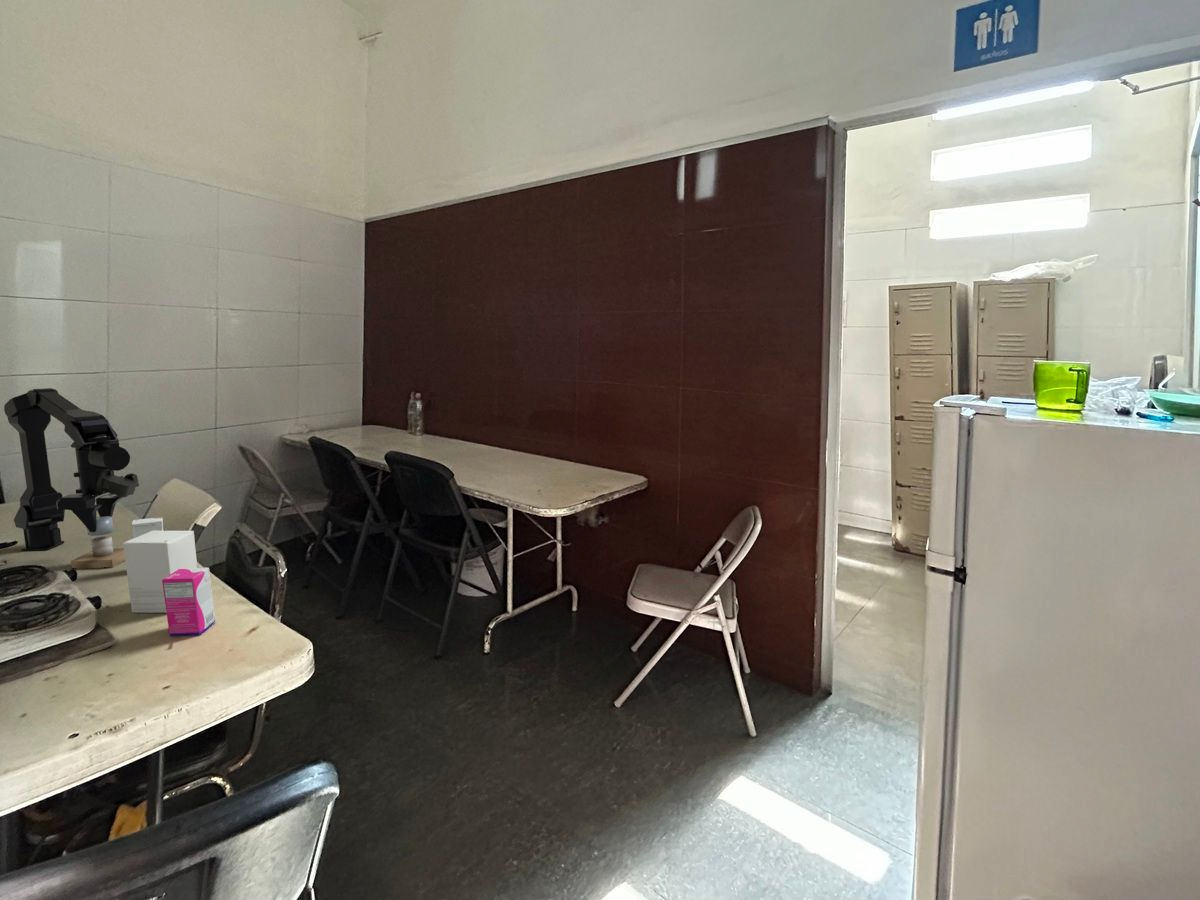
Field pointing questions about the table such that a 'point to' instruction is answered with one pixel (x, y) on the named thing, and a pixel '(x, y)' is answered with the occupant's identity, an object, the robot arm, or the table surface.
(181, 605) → the supplement box
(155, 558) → the supplement box
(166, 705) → the table surface
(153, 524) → the skincare box
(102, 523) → the smooth rounded gray lump
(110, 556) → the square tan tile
